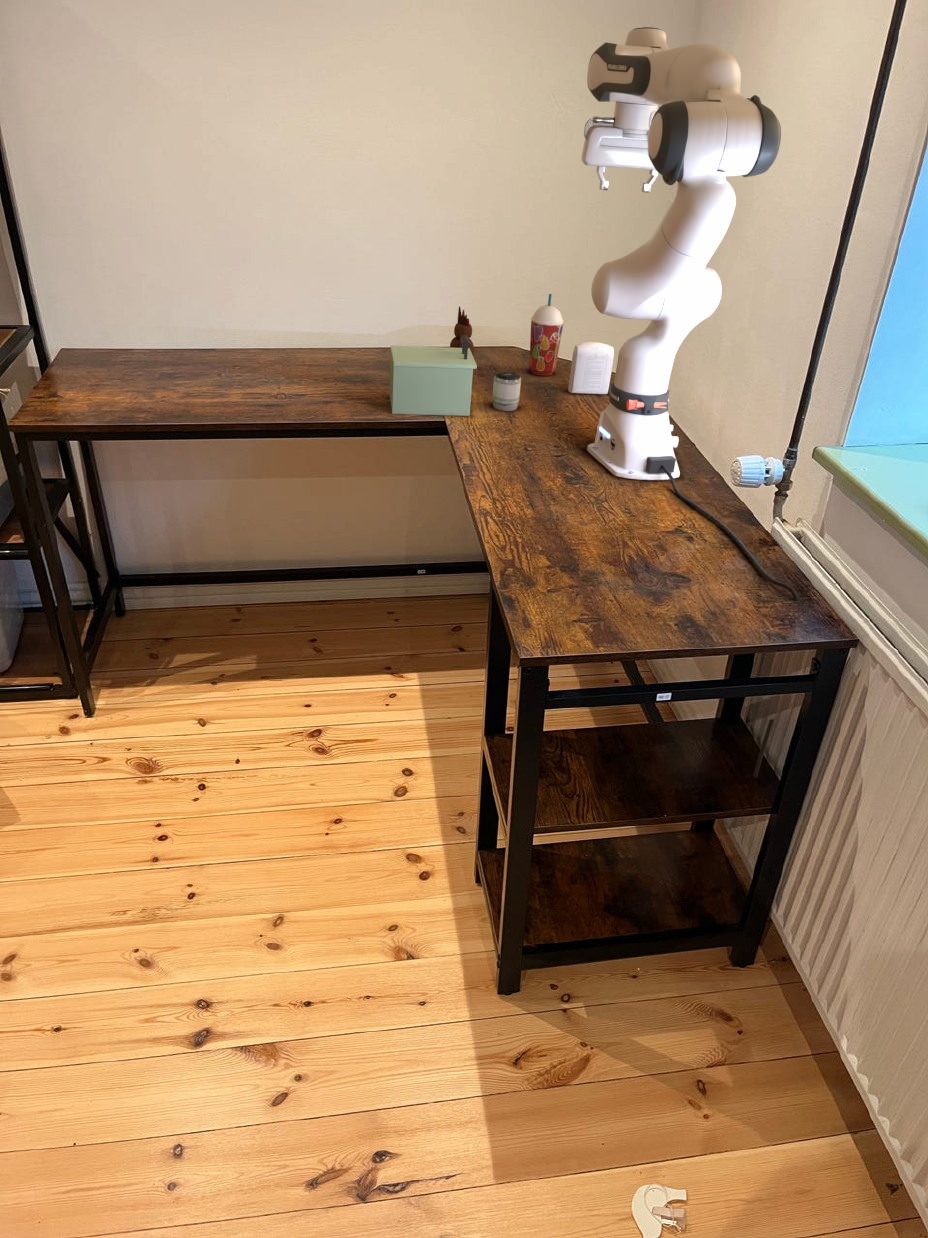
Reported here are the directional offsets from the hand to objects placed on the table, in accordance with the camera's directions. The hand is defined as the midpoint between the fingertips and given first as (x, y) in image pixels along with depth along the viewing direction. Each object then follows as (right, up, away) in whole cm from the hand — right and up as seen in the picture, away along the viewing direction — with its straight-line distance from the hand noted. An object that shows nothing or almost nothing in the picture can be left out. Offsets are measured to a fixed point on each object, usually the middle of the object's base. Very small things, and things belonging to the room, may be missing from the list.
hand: (624, 190), depth 207 cm
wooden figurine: (-36, -27, +44) cm, 62 cm away
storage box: (-43, -43, +16) cm, 62 cm away
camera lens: (-25, -43, +19) cm, 53 cm away
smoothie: (-14, -28, +44) cm, 54 cm away
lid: (-42, -33, +10) cm, 54 cm away
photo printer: (-4, -36, +33) cm, 49 cm away
